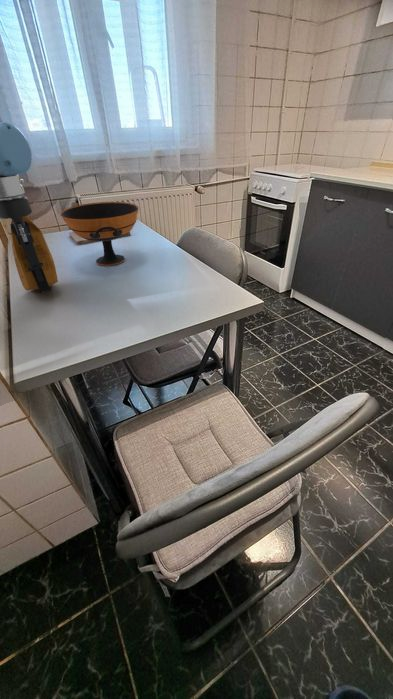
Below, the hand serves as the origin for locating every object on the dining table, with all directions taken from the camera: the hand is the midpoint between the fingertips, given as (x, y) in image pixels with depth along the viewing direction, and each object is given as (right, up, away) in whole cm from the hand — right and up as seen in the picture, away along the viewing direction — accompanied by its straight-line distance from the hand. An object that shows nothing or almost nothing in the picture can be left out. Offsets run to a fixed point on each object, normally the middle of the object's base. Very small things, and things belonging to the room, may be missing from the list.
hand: (45, 290), depth 82 cm
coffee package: (-3, +2, +5) cm, 7 cm away
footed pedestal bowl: (+11, +16, +27) cm, 33 cm away
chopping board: (-2, +36, +54) cm, 65 cm away
